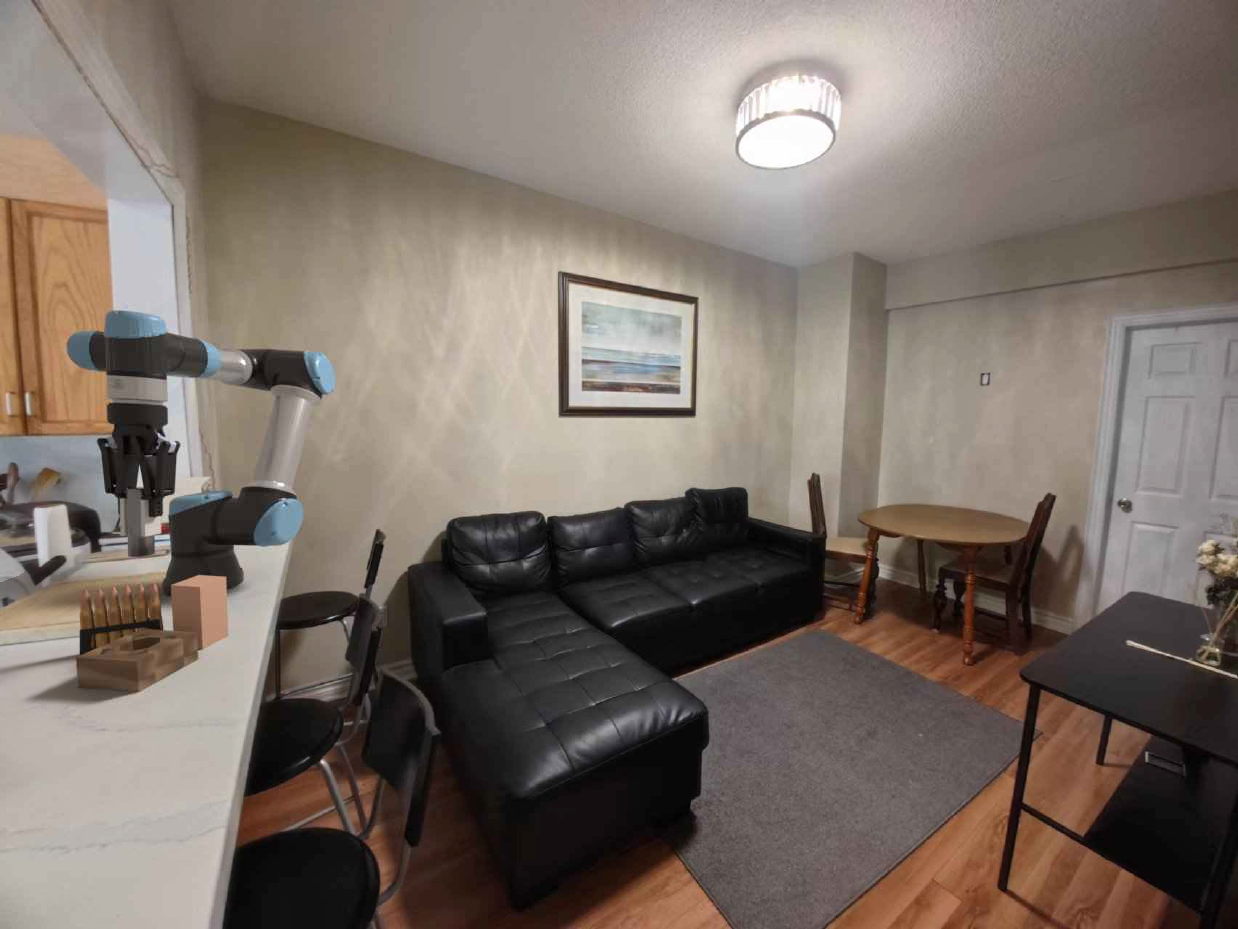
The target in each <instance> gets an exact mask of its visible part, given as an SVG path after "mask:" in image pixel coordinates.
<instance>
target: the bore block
mask: <svg viewBox="0 0 1238 929" xmlns="http://www.w3.org/2000/svg"><path fill="white" fill-rule="evenodd" d="M198 650H199V649H198V645H197V632H184V631H173V630H167V629H166V630H165V629H164V630H154V629H141V630H138V631H136V632H134V633H131V634H129V635H127V636H124V637H122V638H120V639H118V640H115V641H113V642H111V643H108V644H106V645H104V646H101V647H99V648H97V649H94V650H92V651H90V652H87V653H85V654H83V655H80V654H79V655H78V656H76V657H75V661H76V663H75V664H76V676H77V688H82V689H95V690H109V691H110V690H111V691H122V692H123V691H125V692H134V693H135V692H137V693H140V692H142V691H143V690H145V689H146V688H148V687H150V686H153V685H155V684H156V683H158V682H159V681H161V680H163V679H165V678H167V677H168V676H170V675H172V674H174V673H175V672H177V671H180V670H181V669H183V668H185V667H187V666H188V665H191V664H193V663H194V662H196V661H197V660H199V651H198Z"/></svg>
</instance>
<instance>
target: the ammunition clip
mask: <svg viewBox="0 0 1238 929" xmlns="http://www.w3.org/2000/svg"><path fill="white" fill-rule="evenodd" d="M118 594H119V593H118V591H117V589H116V587H115V586H111V588H110V589H109V595H108V608H107V606H106V605H107V604H106V600H105V594H104V592H103V590H102V589H101V587H98V588H97V590H96V592H95V594H94V595H95V596H94V610H93V607H92V600H91V596H90V594H89V592H88V590H87V589H83V591H82V592H81V596H80V610H79V627H80V629H79V656H80V655H83V654H85V653H87V652H90V651H92V650H94V649H97V648H99V647H101V646H104V645H106V644H108V643H111V642H113V641H115V640H118V639H120V638H122V637H124V636H127V635H129V634H131V633H134V632H136V631H138V630H141V629H154V630H165V629H164V622H163V616H162V605H161V601H160V595H159V589H158V586H157V584H156V583H155V582H154V581H153V582H152V583H151V585H150V589H149V599H148V600H149V602H148V603H149V604H147V598H146V591H145V588H144V586H143V584H142V583H139V584H138V586H137V588H136V593H135V594H136V595H135V598H136V599H135V606H134V603H133V602H134V601H133V596H132V591H131V588H130V586H129V585H127V584H126V585H124V588H123V591H122V603H121V604H122V605H121V606H120V599H119V595H118Z"/></svg>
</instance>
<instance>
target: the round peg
mask: <svg viewBox="0 0 1238 929" xmlns="http://www.w3.org/2000/svg"><path fill="white" fill-rule="evenodd" d="M141 497H145V493H144V487H143V486H140V487H139V486H138V487H135V488H127V489H126V502H127V535H126V536H127V556H128V558H129V557H130V558H140V557H148V556H152V555H154V554H156V544H155V543H156V542H155V540H156V538H155V535H151V536H146V537H144V536H141V501H140V500H142V499H141Z"/></svg>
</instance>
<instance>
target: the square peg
mask: <svg viewBox="0 0 1238 929" xmlns="http://www.w3.org/2000/svg"><path fill="white" fill-rule="evenodd" d="M227 590H228V589H227V587H226V577H221V576H205V575H198V576H195V577H192V578H189V579H187V580H184V581H181V582H178V583H176V584H173V585H171V595H170V597H171V611H172V612H171V613H172V614H171V615H172V631H184V632H197V645H198V650H205V649H206V648H208V647H211V646H212V645H214V644H216V643H218V642H220V641H222V640H223V639H225V638H226V637H228V636H229V620H228V619H229V618H228V617H229V615H228V614H229V612H228V595H227V594H228V592H227ZM217 641H218V642H217Z"/></svg>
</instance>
